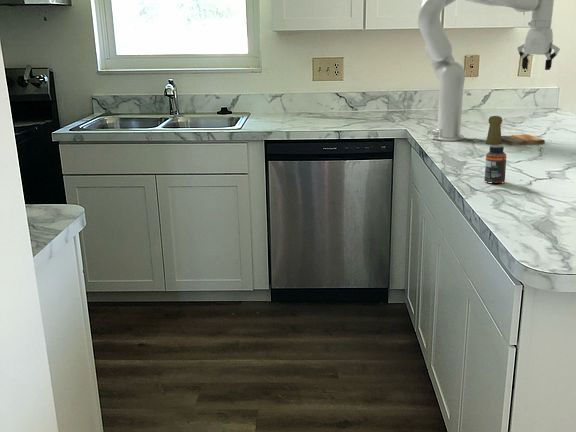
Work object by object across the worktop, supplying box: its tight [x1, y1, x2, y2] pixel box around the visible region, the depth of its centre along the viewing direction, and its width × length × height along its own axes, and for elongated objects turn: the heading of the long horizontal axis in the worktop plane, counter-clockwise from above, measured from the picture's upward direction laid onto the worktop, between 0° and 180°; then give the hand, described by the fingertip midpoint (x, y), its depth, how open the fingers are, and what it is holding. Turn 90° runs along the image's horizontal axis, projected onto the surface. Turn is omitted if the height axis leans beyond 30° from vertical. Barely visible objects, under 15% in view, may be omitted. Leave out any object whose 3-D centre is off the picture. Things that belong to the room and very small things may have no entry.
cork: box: [485, 115, 503, 146], centre depth 250 cm, size 6×6×11 cm
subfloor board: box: [501, 133, 546, 146], centre depth 253 cm, size 14×13×2 cm
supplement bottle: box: [484, 144, 507, 184], centre depth 190 cm, size 6×6×11 cm
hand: (535, 69), depth 254 cm, fingers open, 9 cm apart
